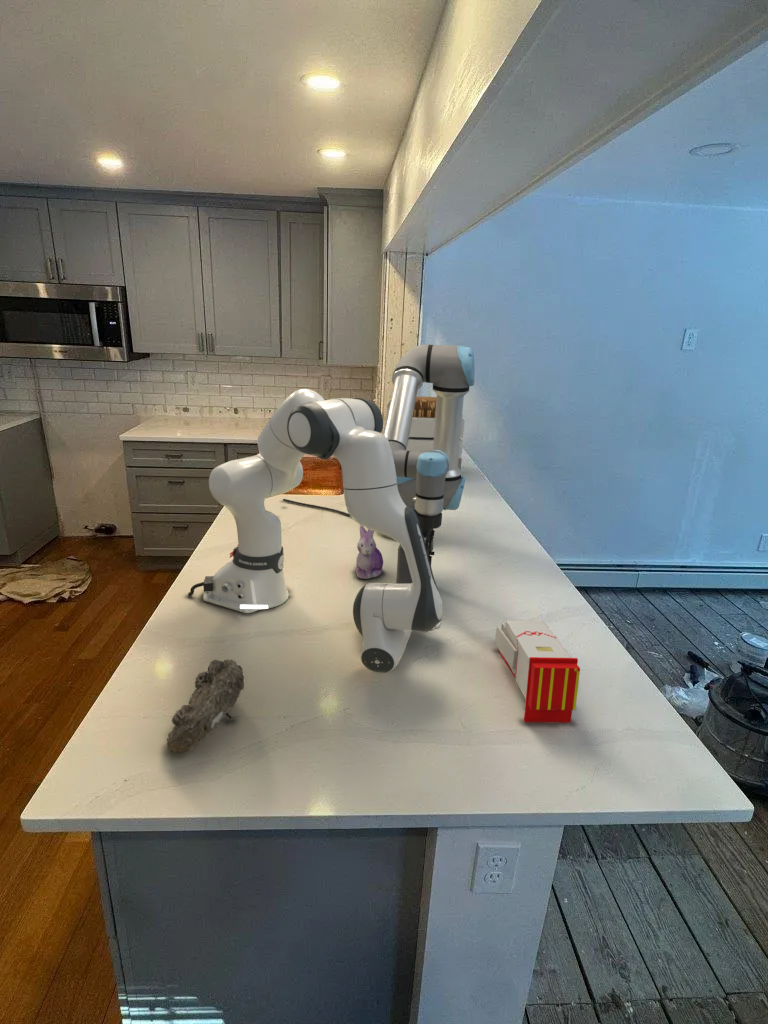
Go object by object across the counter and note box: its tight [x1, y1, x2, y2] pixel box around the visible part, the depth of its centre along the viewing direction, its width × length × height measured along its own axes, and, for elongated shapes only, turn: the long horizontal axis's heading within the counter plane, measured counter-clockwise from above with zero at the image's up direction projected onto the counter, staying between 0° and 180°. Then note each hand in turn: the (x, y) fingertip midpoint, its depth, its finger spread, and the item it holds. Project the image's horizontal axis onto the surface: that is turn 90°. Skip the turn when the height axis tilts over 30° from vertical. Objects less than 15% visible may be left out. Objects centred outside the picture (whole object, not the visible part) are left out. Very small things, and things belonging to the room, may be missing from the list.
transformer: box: [385, 395, 465, 471], centre depth 268 cm, size 34×33×41 cm
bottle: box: [395, 544, 413, 584], centre depth 140 cm, size 5×5×25 cm
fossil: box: [166, 658, 245, 754], centre depth 106 cm, size 22×10×15 cm
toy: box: [494, 619, 581, 724], centre depth 121 cm, size 12×13×30 cm
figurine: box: [355, 525, 384, 580], centre depth 167 cm, size 9×10×15 cm
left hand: (406, 596), depth 143 cm, fingers closed on bottle, 5 cm apart
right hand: (422, 585), depth 159 cm, fingers open, 10 cm apart
